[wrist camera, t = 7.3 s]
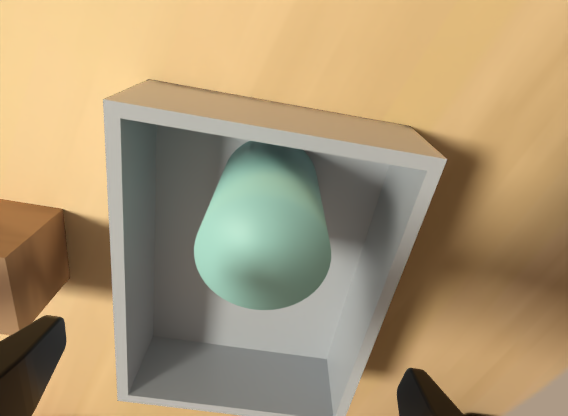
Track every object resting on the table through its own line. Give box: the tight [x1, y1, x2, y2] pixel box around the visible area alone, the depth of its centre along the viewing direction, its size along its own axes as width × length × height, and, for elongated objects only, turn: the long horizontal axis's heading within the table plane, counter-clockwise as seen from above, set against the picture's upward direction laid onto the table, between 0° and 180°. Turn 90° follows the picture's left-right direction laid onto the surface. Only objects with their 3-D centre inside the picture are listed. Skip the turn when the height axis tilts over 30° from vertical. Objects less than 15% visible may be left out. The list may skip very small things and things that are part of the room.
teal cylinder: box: [194, 141, 331, 310], centre depth 17 cm, size 5×5×7 cm
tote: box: [103, 79, 447, 416], centre depth 20 cm, size 17×13×5 cm
